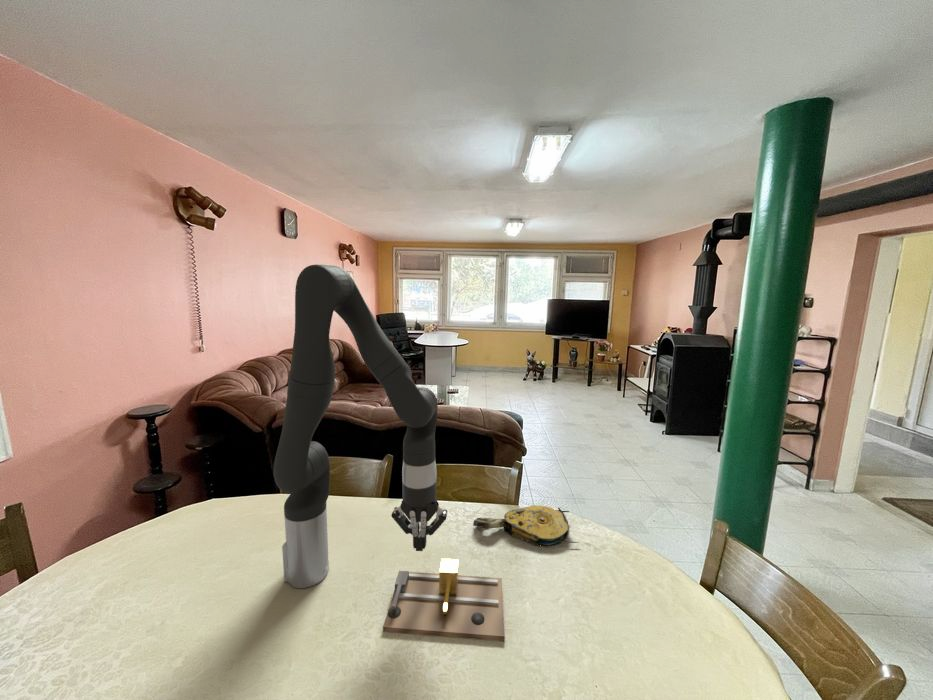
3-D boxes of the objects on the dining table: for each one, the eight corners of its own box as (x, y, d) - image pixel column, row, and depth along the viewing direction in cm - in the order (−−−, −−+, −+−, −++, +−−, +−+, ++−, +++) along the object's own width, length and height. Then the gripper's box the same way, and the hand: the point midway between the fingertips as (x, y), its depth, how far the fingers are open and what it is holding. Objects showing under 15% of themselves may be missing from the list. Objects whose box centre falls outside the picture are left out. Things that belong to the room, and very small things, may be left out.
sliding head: (435, 617, 76) (435, 592, 75) (441, 581, 86) (441, 558, 85) (454, 619, 76) (454, 594, 75) (457, 582, 86) (458, 559, 85)
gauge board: (383, 631, 74) (382, 617, 74) (400, 575, 89) (400, 562, 88) (504, 641, 73) (505, 626, 72) (501, 582, 88) (502, 569, 87)
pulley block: (473, 496, 113) (569, 501, 112) (473, 511, 115) (567, 515, 114) (472, 531, 100) (581, 537, 99) (472, 547, 102) (579, 553, 101)
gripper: (385, 485, 76) (386, 559, 79) (447, 488, 75) (446, 562, 78) (394, 468, 84) (395, 536, 86) (450, 471, 83) (450, 539, 86)
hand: (420, 548), depth 82 cm, fingers closed
